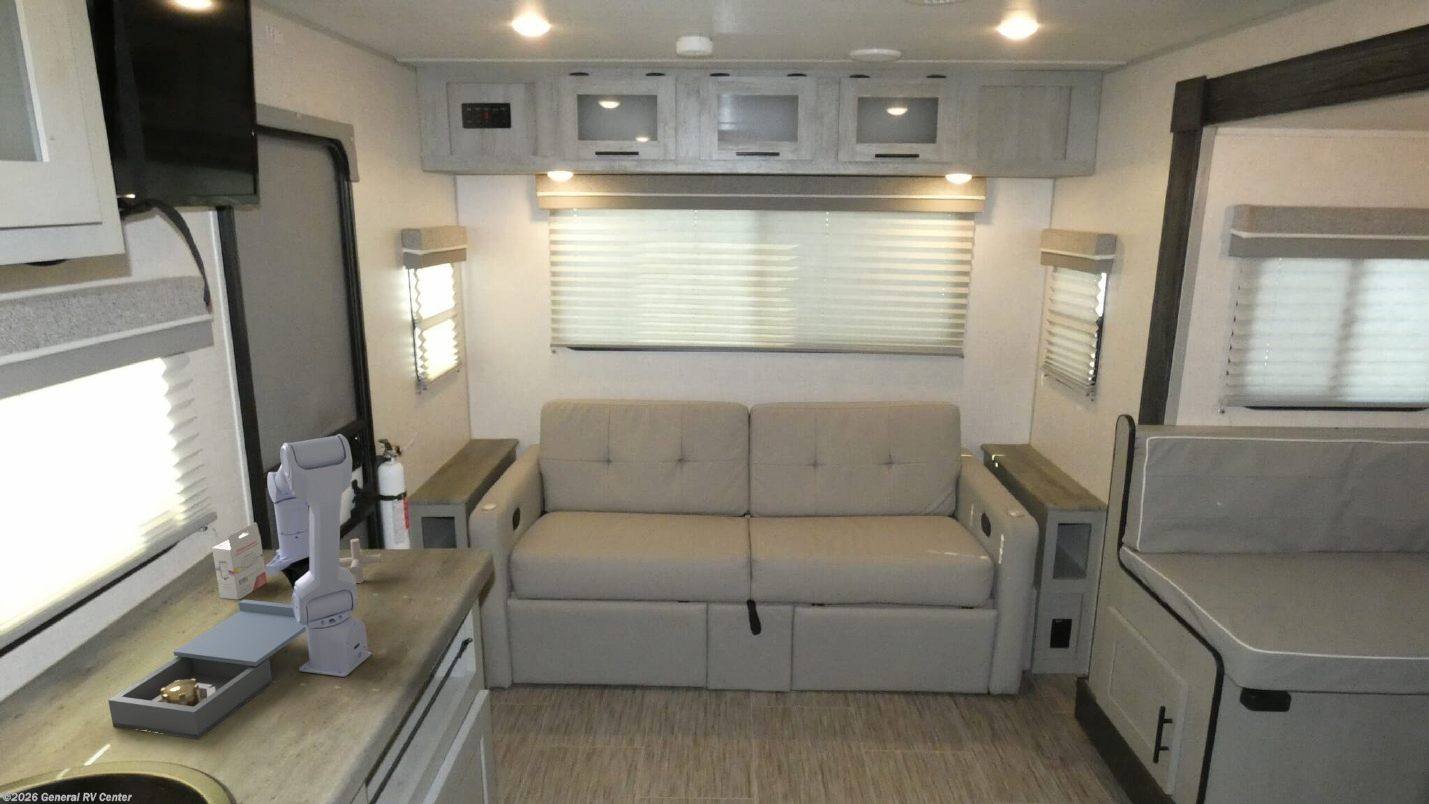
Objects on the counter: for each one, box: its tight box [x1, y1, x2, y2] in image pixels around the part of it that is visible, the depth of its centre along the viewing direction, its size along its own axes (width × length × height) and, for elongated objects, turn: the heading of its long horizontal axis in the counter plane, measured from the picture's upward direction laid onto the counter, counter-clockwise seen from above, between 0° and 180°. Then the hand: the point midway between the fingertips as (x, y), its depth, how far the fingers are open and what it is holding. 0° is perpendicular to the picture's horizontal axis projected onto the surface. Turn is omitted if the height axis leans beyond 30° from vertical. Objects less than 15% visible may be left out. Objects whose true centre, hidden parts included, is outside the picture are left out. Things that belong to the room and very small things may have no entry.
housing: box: [107, 656, 273, 740], centre depth 135 cm, size 16×16×5 cm
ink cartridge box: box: [211, 522, 268, 600], centre depth 175 cm, size 9×5×15 cm, turn 168°
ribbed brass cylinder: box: [160, 678, 201, 707], centre depth 132 cm, size 5×5×4 cm
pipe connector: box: [339, 538, 382, 584], centre depth 180 cm, size 10×10×10 cm
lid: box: [173, 598, 306, 666], centre depth 147 cm, size 16×16×3 cm
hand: (301, 593), depth 160 cm, fingers closed
